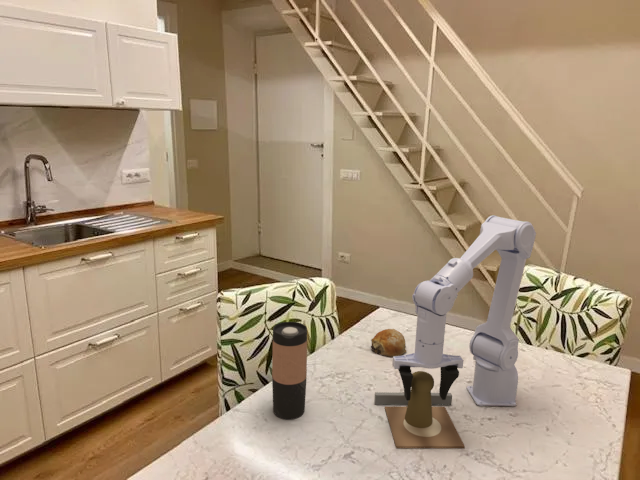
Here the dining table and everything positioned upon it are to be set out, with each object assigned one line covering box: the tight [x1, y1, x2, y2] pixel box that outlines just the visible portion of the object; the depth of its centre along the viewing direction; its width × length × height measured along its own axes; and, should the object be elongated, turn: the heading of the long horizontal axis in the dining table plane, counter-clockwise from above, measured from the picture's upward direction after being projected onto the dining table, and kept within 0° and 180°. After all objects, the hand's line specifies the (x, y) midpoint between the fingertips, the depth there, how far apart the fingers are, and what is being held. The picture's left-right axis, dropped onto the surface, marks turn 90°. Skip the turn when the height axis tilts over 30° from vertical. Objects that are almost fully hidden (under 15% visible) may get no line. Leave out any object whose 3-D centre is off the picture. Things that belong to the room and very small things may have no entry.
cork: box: [405, 370, 435, 428], centre depth 103 cm, size 6×6×11 cm
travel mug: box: [271, 321, 308, 420], centre depth 105 cm, size 8×8×20 cm
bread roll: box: [370, 328, 408, 358], centre depth 138 cm, size 10×10×8 cm
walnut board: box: [384, 405, 466, 449], centre depth 102 cm, size 14×14×1 cm
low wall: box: [374, 391, 453, 406], centre depth 111 cm, size 18×1×2 cm, turn 92°
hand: (424, 397), depth 101 cm, fingers open, 7 cm apart
